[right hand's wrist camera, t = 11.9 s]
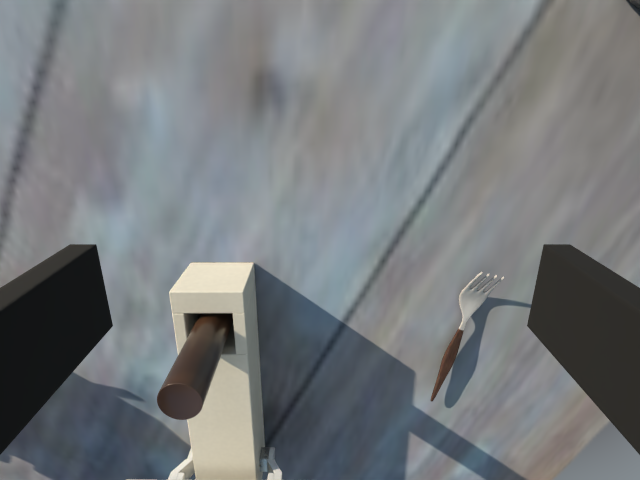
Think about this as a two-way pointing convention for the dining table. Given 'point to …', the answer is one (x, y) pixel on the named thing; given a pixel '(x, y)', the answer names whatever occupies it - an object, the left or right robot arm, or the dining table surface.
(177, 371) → the walnut peg
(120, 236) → the dining table surface
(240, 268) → the peg block
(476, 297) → the fork
